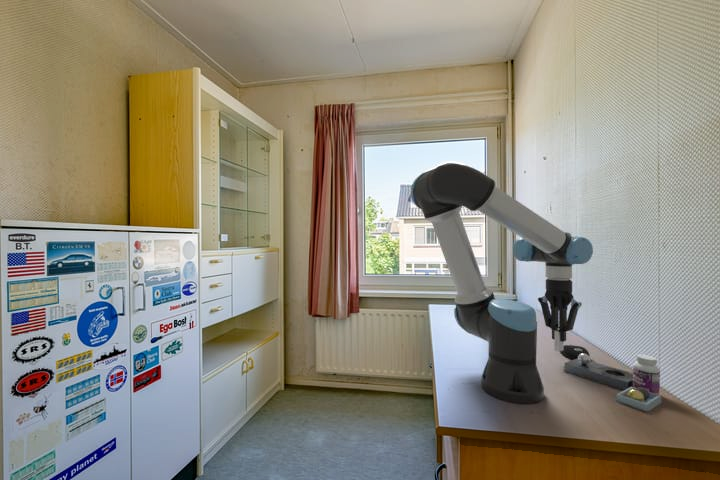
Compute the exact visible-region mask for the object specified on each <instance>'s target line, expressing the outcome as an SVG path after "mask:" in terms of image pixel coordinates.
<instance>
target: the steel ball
mask: <svg viewBox="0 0 720 480" xmlns="http://www.w3.org/2000/svg"><path fill="white" fill-rule="evenodd" d="M578 360H579V362H580V363H582V364H588V363H590V361H591V356H590V357H589V356H588V355H587V354H585V353H581V354H579V356H578Z"/></svg>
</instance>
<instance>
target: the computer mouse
mask: <svg viewBox="0 0 720 480" xmlns="http://www.w3.org/2000/svg"><path fill="white" fill-rule="evenodd" d="M559 353H561V355H562V356H564V357H565V358H566V359H568V360H569V361H572V360H575V359H577V358H578V356H579V354H581V353H585V354H587V355H588V356H589V357H590V358H591V356H590V353H589V350H588V349H586V347H583V346H580V345H574V344H572V343H571V344H569V345H568V344H564V350H563V351H560V352H559Z"/></svg>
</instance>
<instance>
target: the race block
mask: <svg viewBox="0 0 720 480" xmlns="http://www.w3.org/2000/svg"><path fill="white" fill-rule="evenodd" d="M564 372H567V373H570V374H573V375H577V376H579V377H582V378H584V379H589V380H591V381H595V382H598V383H601V384H604V385H607V386H610V387H613V388H615V389H619V390H622V391H624V390H626V389H628V388H630V387H633V372H630V371H627V370H622V369H619V368H616V367H613V366H609V365H604V364H602V363H598V362H594V361H591V360H590V363H588V364H582V363H580V362H579V360H578V358H577V359H575V360H568V361H566V362H564Z"/></svg>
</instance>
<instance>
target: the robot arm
mask: <svg viewBox="0 0 720 480" xmlns="http://www.w3.org/2000/svg"><path fill="white" fill-rule="evenodd" d="M496 184H497V183H496V181H495V180H494V179H493V178H491V177H489V176H488V175H487V174H485V173H483V172H482V171H479V170H478V169H476V168H474V167H472V166H471V165H467V164H465V163H462V162H458V161H445V162H442V163H440V164H438V165H437V166H434V167H433V168H430V169H428V170H425V171H424V172H422V173H421V174H419V175H418V176H417V177H416V178H415V179H414V180H413V182H412V185H411V186H410V198H411V201H412V203H413V204H414V205H415V207H417V208H418V209H420V210H421V211H422V214H423V216H424V219H425V220H426V221H428V222H430V223H431V225H432V226H433V229H434V232H435V235H436V238H437V240H438V243H439V246H440V250H441V252H442V255H443V257H444V259H445V263H446V266H447V268H448V271H449V274H450V277H451V280H452V282H453V284H454V288H455V291H456V295H455V297H454V302H455V308H454V309H453V310H454V311H453V312H454V313H453V315H454V319H455V322H456V323H457V325H458V326H459V327H460V328H461V329H462V330H464V331H465V332H466V333H468V334H470V335H472V336H475V337H477V338H479V339H482V340H484V341H486V342H488V357H487V362H486V363H485V367H484V369H483V372H482V375H481V388H482V389H483V390H484V391H485V392H486V393H487V394H489V395H490V396H493V397H495V398H497V399H500V400H503V401H506V402H511V403H516V404H536V403H539V402H541V401H543V400H544V397H545V392H544V391H545V388H544V385H543V381H542V378H541V375H540V372H539V369H538V366H537V343H538V342H537V341H538V339H537V338H538V321H537V312H536V310H535V309H534V308H533V306H531V305H529V304H527V303H525V302H522V301H517V300H512V299H508V298H507V299H506V298H495V295H494V292H493V289H492V288H491V287H489V286H487V285H485V281H484V279H483V276H482V273H481V270H480V267H479V264H478V261H477V259H476V256H475V253H474V250H473V248H472V247H473V246H472V245H471V241H470V239H469V237H468V234H467V233H468V232H467V231H466V228H465V225H464V222H463V219H462V217H461V213H460V212H461V210H462V209H463V208H466V209H468V210H469V211H471V212H476V211H478V212H480V213H482V214H483V215H485V216H486V217H488V218H490V219H491V220H493V221H494V222H496V223H498V224H499V225H501V226H502V227H504V228H505V229H507V230H509V231H510V232H512V233H514V234H515V235H517V236H518V237H520V238H518V239H517V240H515V241H514V243H513V245H512V254H513V257H514V258H515V259H516V260H517V261H520V262H528V263H529V262H540V263H545V278H546V279H545V290H546V291H545V292H544V295H543V296H541V297H540V296H539V297H538V298H537V301H538V302H539V304H540V306H541V311H542V315H543V319H544V325H545V327H547V328H550V329H551V338H552V340H554V341H553V343H554V346H553V347H554V348H553V349H554V351H556V352H559V353H561V352H560V351H563V350H564V345H565V344H564V343H565V342H566V341H567V332H569V331H573V330H574V325H575V323H576V318H577V316H578V315H577V314H578V311H579V309H580V308H581V307H582V302H580V301H577V300H576V299H574V295H573V281H572V278H573V265H584V264H587V263H588V262H589V261H590V260H591V259H592V257H593V254H594V248H593V243H592V242H591V241H590V240H589V239H588V238H587V237H584V236H583V237H582V236H581V237H580V236H572V234H571V233H569V232H565V231H563V230H561V229H560V228H559V227H557V226H556V225H554V224H553V223H551V222H549V221H548V220H547V219H545V218H544V217H542V216H540V215H539V214H538V213H536V212H535V211H533V210H531V209H530V208H529V207H527V206H526V205H524V204H522V203H521V202H519V201H518V200H517V199H515V198H514V197H512V196H510V195H509V194H507V193H506V192H504V191H503V190H501V189H500V188H499V187H497V186H496ZM569 305H570V306H571V307H570V309H569V308H568V307H569ZM568 309H569V313H568Z"/></svg>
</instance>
